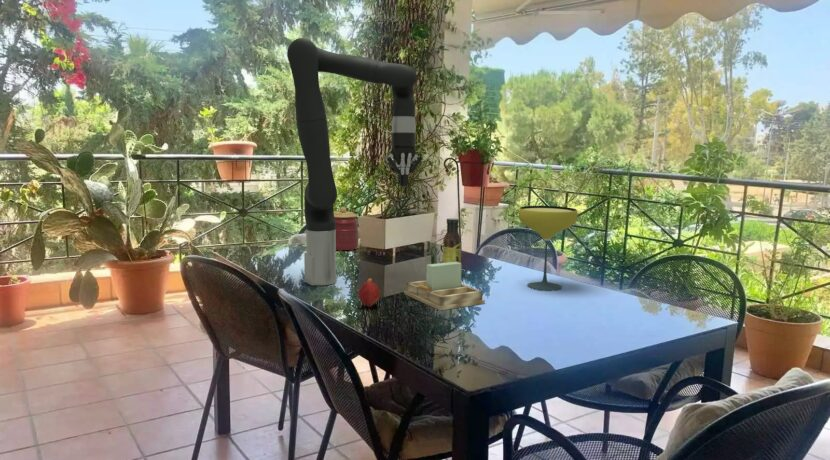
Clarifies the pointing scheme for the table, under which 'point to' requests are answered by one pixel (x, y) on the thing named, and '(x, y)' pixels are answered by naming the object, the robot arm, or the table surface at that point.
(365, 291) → the onion
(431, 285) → the block
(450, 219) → the sauce bottle
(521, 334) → the table surface
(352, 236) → the canister
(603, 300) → the table surface
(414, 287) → the rack
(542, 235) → the cocktail glass
